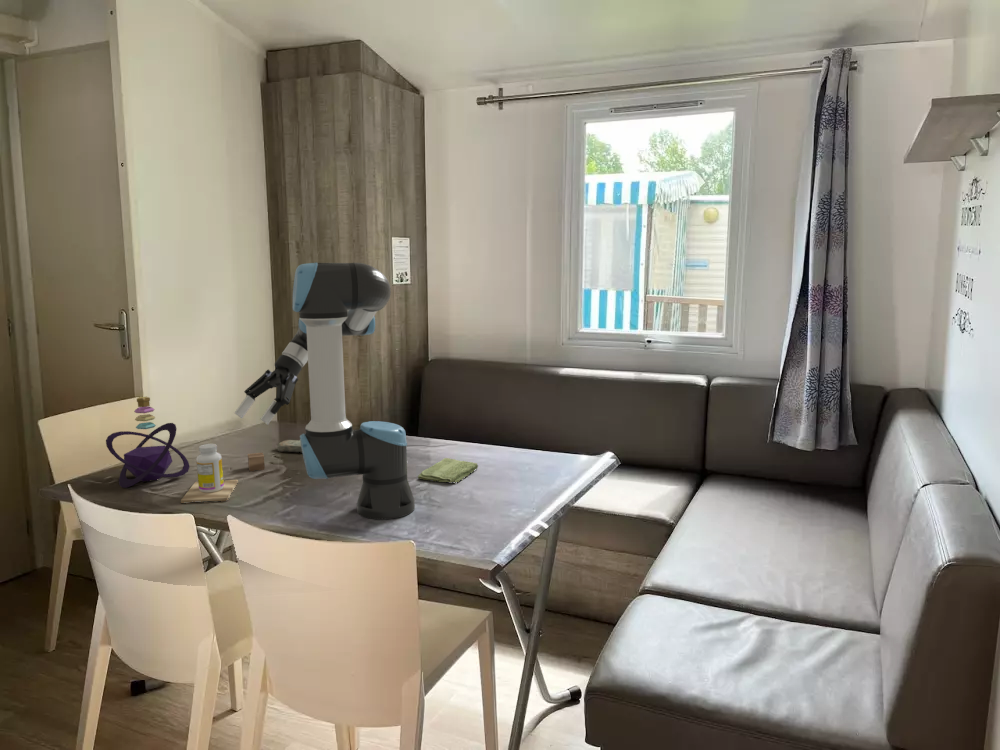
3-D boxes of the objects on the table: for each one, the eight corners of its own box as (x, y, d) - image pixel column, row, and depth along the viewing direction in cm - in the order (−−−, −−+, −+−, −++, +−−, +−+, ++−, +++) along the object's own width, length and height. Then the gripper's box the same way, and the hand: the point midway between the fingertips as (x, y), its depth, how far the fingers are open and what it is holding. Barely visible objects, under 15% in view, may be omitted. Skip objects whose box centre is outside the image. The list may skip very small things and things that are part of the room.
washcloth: (415, 481, 219) (415, 471, 219) (445, 465, 235) (444, 455, 235) (454, 487, 214) (454, 476, 213) (481, 470, 229) (481, 460, 229)
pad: (227, 501, 202) (227, 497, 202) (181, 503, 200) (180, 500, 200) (238, 482, 217) (238, 479, 217) (195, 485, 215) (195, 481, 215)
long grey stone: (285, 449, 259) (273, 459, 249) (283, 435, 257) (271, 444, 248) (381, 446, 254) (374, 456, 245) (380, 432, 253) (372, 441, 244)
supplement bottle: (216, 484, 213) (213, 441, 211) (228, 488, 209) (225, 445, 207) (194, 490, 208) (190, 446, 206) (206, 495, 204) (202, 450, 201)
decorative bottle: (100, 478, 222) (92, 397, 218) (171, 463, 237) (164, 387, 233) (127, 495, 207) (118, 408, 202) (200, 478, 221) (194, 397, 217)
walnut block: (264, 469, 230) (263, 456, 229) (249, 471, 228) (248, 457, 228) (263, 466, 234) (262, 452, 234) (248, 467, 233) (247, 454, 232)
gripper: (324, 372, 217) (284, 432, 208) (276, 365, 233) (236, 420, 224) (308, 356, 212) (266, 417, 203) (260, 350, 228) (219, 406, 219)
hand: (250, 418), depth 213 cm, fingers open, 13 cm apart
